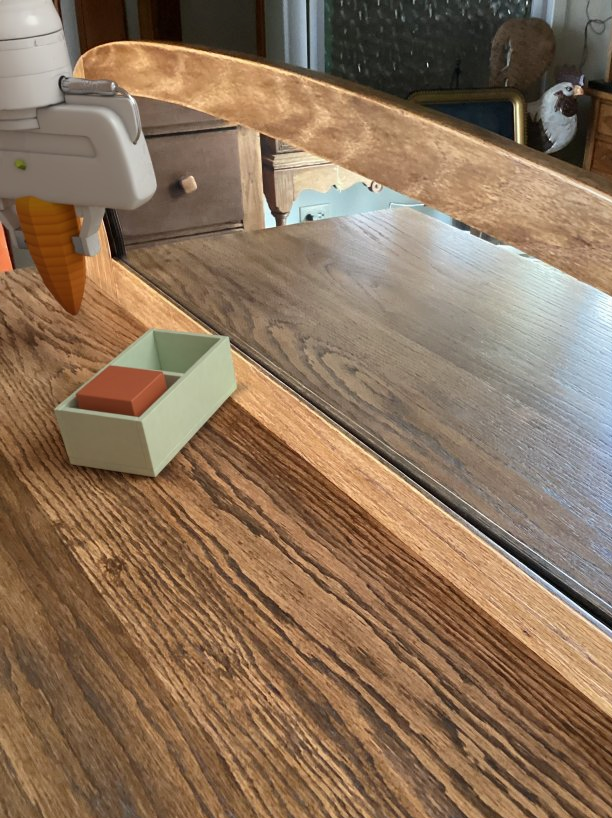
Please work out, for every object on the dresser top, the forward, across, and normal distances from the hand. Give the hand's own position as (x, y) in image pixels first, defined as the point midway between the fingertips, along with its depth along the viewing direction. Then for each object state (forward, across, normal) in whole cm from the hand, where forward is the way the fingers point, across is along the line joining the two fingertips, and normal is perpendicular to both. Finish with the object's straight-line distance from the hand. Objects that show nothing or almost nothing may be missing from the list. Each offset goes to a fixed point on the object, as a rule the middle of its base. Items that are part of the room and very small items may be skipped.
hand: (57, 250), depth 77 cm
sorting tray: (+8, -15, +12) cm, 21 cm away
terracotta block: (+7, -15, +16) cm, 23 cm away
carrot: (+6, 0, 0) cm, 6 cm away
